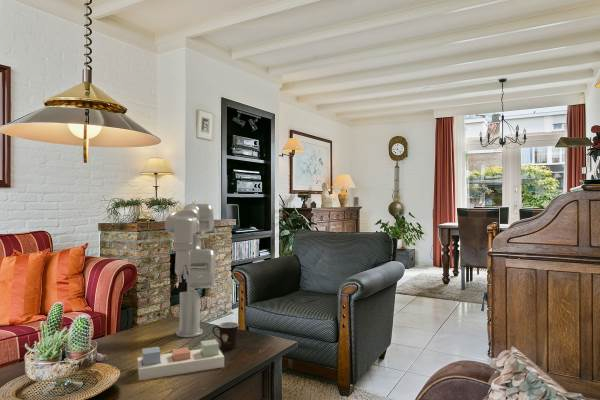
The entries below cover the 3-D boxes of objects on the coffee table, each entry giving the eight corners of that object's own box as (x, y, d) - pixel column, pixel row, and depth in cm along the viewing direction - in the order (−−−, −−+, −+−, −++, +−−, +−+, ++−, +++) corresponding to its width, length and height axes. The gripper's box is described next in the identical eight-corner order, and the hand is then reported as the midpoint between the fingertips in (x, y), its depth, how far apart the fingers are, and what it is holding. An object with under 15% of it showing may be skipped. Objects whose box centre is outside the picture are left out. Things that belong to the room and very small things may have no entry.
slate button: (142, 361, 155) (142, 348, 155) (158, 359, 158) (158, 346, 158) (143, 367, 150) (143, 354, 150) (160, 365, 152) (160, 351, 152)
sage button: (200, 353, 164) (200, 341, 165) (215, 351, 167) (215, 339, 167) (203, 358, 159) (203, 346, 159) (218, 356, 162) (218, 343, 162)
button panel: (137, 368, 157) (137, 357, 157) (217, 356, 170) (217, 346, 170) (139, 380, 146) (139, 369, 147) (224, 366, 159) (224, 356, 159)
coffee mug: (242, 347, 181) (242, 324, 181) (226, 352, 175) (226, 329, 175) (226, 341, 189) (226, 319, 189) (210, 345, 183) (211, 323, 183)
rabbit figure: (107, 360, 169) (66, 358, 163) (109, 345, 169) (69, 343, 164) (105, 366, 163) (63, 364, 158) (108, 351, 163) (66, 349, 158)
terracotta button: (172, 362, 160) (172, 349, 160) (187, 359, 162) (187, 347, 162) (174, 367, 154) (174, 354, 154) (190, 365, 157) (190, 352, 157)
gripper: (171, 245, 175) (171, 288, 175) (176, 249, 161) (176, 296, 161) (189, 245, 178) (189, 287, 178) (195, 248, 165) (195, 294, 164)
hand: (182, 291), depth 170 cm, fingers closed
